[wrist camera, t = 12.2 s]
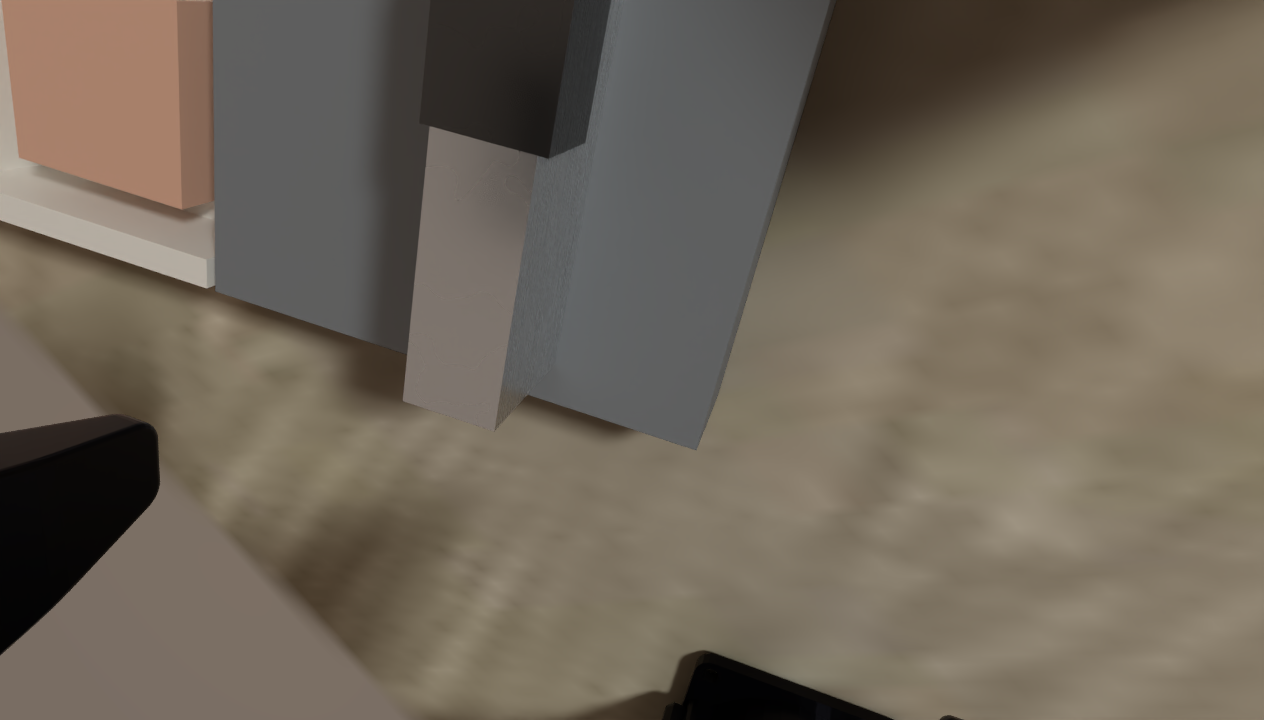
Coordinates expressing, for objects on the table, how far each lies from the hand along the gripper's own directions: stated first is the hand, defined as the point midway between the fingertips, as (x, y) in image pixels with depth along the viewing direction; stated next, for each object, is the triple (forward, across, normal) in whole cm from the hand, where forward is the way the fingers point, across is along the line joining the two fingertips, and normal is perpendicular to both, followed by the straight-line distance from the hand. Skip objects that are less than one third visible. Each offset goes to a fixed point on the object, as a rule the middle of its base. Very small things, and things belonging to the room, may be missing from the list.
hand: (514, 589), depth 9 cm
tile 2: (+12, +16, -1) cm, 20 cm away
